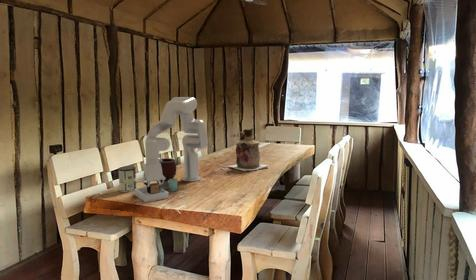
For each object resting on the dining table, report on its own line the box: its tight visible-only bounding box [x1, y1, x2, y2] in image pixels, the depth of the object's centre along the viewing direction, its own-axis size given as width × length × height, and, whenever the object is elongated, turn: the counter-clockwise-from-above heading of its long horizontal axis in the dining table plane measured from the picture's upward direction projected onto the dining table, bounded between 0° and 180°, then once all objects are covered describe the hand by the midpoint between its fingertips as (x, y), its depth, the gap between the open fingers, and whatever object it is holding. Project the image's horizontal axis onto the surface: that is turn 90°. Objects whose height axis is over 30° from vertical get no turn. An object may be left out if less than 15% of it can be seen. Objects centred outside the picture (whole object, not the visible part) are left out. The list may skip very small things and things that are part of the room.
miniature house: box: [117, 165, 137, 193], centre depth 229 cm, size 10×10×14 cm
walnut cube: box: [150, 182, 160, 194], centre depth 212 cm, size 5×5×5 cm
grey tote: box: [134, 186, 170, 203], centre depth 216 cm, size 18×14×4 cm
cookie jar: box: [227, 128, 269, 172], centre depth 293 cm, size 25×25×32 cm
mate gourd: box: [159, 155, 177, 190], centre depth 238 cm, size 16×14×20 cm
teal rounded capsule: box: [168, 177, 178, 192], centre depth 228 cm, size 5×5×7 cm
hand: (153, 191), depth 212 cm, fingers closed on walnut cube, 4 cm apart
